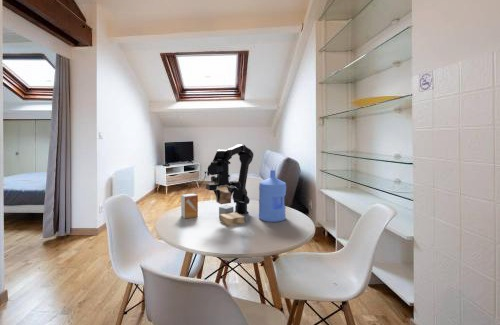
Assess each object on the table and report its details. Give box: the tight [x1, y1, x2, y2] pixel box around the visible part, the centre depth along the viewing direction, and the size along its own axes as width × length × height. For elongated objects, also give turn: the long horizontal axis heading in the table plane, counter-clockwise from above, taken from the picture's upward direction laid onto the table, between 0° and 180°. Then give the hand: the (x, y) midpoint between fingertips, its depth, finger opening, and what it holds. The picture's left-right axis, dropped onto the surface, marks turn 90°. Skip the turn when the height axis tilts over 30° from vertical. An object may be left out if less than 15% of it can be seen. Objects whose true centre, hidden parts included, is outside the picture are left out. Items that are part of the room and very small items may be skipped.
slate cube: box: [218, 204, 234, 218], centre depth 151 cm, size 6×6×6 cm
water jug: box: [258, 169, 287, 223], centre depth 147 cm, size 16×16×28 cm
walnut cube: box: [215, 189, 232, 205], centre depth 141 cm, size 6×6×6 cm
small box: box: [180, 193, 199, 219], centre depth 150 cm, size 8×6×13 cm
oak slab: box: [219, 211, 245, 227], centre depth 141 cm, size 10×10×4 cm
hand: (223, 200), depth 141 cm, fingers closed on walnut cube, 6 cm apart
